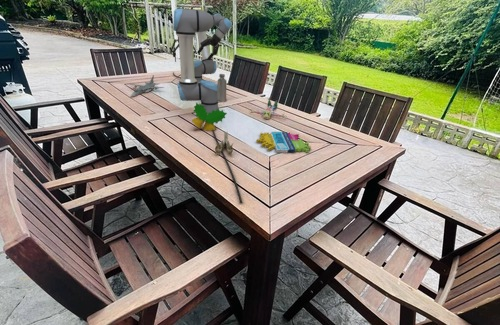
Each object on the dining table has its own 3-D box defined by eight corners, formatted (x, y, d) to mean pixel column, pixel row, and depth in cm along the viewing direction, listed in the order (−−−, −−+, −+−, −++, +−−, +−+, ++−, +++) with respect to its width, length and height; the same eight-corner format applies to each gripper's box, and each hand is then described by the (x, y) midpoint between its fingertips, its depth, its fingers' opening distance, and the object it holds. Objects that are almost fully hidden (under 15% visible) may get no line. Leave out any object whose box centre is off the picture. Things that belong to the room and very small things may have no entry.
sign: (313, 150, 142) (258, 149, 139) (312, 153, 143) (258, 152, 140) (301, 132, 164) (254, 130, 161) (301, 134, 165) (254, 133, 162)
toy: (290, 101, 205) (286, 112, 179) (289, 110, 208) (285, 122, 182) (256, 97, 210) (247, 107, 184) (255, 106, 213) (246, 117, 187)
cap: (224, 77, 208) (224, 75, 207) (219, 77, 208) (219, 74, 207) (224, 76, 212) (224, 74, 211) (219, 76, 212) (219, 73, 211)
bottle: (225, 102, 217) (226, 76, 206) (217, 101, 216) (217, 75, 206) (226, 99, 223) (226, 74, 213) (217, 99, 223) (217, 73, 212)
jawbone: (234, 135, 144) (233, 125, 135) (233, 160, 138) (232, 151, 129) (217, 135, 144) (216, 125, 135) (216, 160, 138) (214, 150, 129)
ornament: (218, 133, 171) (224, 110, 169) (221, 134, 163) (227, 111, 161) (186, 125, 162) (192, 101, 160) (189, 126, 155) (195, 101, 153)
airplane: (124, 87, 237) (122, 75, 232) (159, 84, 250) (158, 74, 245) (128, 99, 208) (126, 87, 203) (168, 96, 222) (167, 84, 217)
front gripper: (198, 33, 207) (199, 61, 218) (165, 31, 201) (168, 60, 211) (199, 33, 201) (200, 62, 211) (165, 32, 194) (168, 62, 205)
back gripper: (211, 31, 209) (195, 52, 216) (228, 45, 231) (214, 64, 238) (206, 26, 212) (191, 47, 219) (224, 40, 234) (210, 59, 241)
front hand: (184, 61), depth 211 cm, fingers open, 13 cm apart
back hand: (203, 56), depth 229 cm, fingers open, 13 cm apart
